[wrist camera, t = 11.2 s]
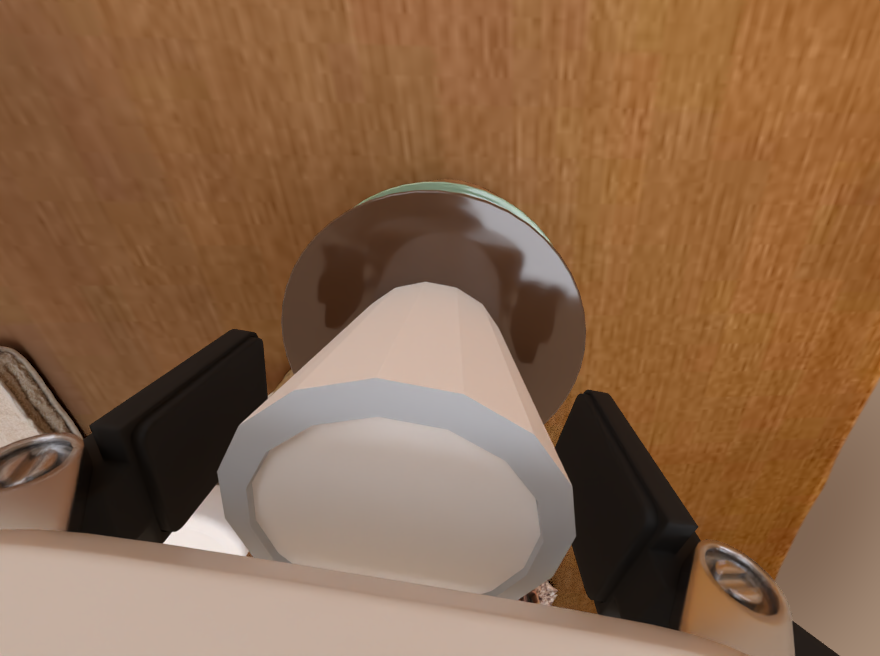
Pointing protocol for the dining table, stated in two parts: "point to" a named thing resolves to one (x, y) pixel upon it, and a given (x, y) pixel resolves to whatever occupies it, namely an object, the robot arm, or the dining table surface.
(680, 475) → the dining table surface
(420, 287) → the white tapered cup
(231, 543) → the sprinkles bottle
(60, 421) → the washcloth
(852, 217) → the dining table surface
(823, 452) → the dining table surface
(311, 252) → the jar
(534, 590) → the plant with pod
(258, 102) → the dining table surface
